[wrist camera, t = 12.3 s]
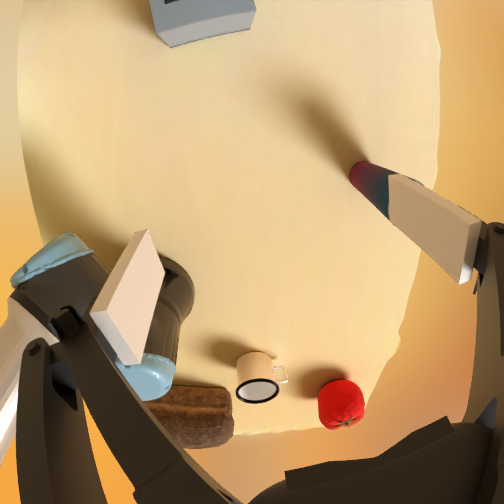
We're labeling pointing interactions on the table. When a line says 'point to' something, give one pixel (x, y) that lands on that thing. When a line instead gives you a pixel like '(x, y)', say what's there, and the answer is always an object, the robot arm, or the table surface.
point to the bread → (195, 415)
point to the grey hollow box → (199, 18)
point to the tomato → (340, 404)
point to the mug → (257, 378)
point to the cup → (373, 184)
